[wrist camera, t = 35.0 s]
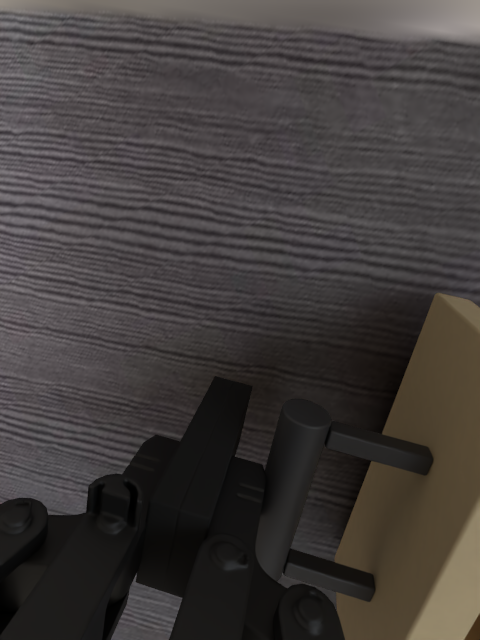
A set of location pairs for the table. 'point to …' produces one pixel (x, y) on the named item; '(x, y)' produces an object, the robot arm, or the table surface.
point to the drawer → (395, 495)
